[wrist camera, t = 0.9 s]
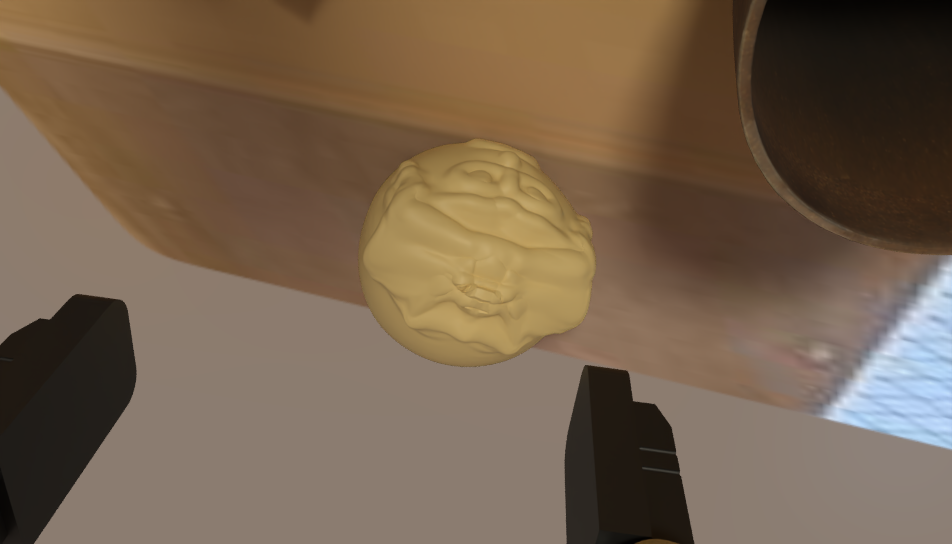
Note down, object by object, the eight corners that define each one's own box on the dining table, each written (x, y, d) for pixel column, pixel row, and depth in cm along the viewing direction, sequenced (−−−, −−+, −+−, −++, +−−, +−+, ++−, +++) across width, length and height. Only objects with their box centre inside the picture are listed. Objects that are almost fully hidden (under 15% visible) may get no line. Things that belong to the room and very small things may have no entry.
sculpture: (615, 146, 42) (633, 292, 34) (527, 292, 50) (526, 436, 42) (409, 74, 39) (377, 214, 32) (351, 239, 47) (316, 382, 40)
